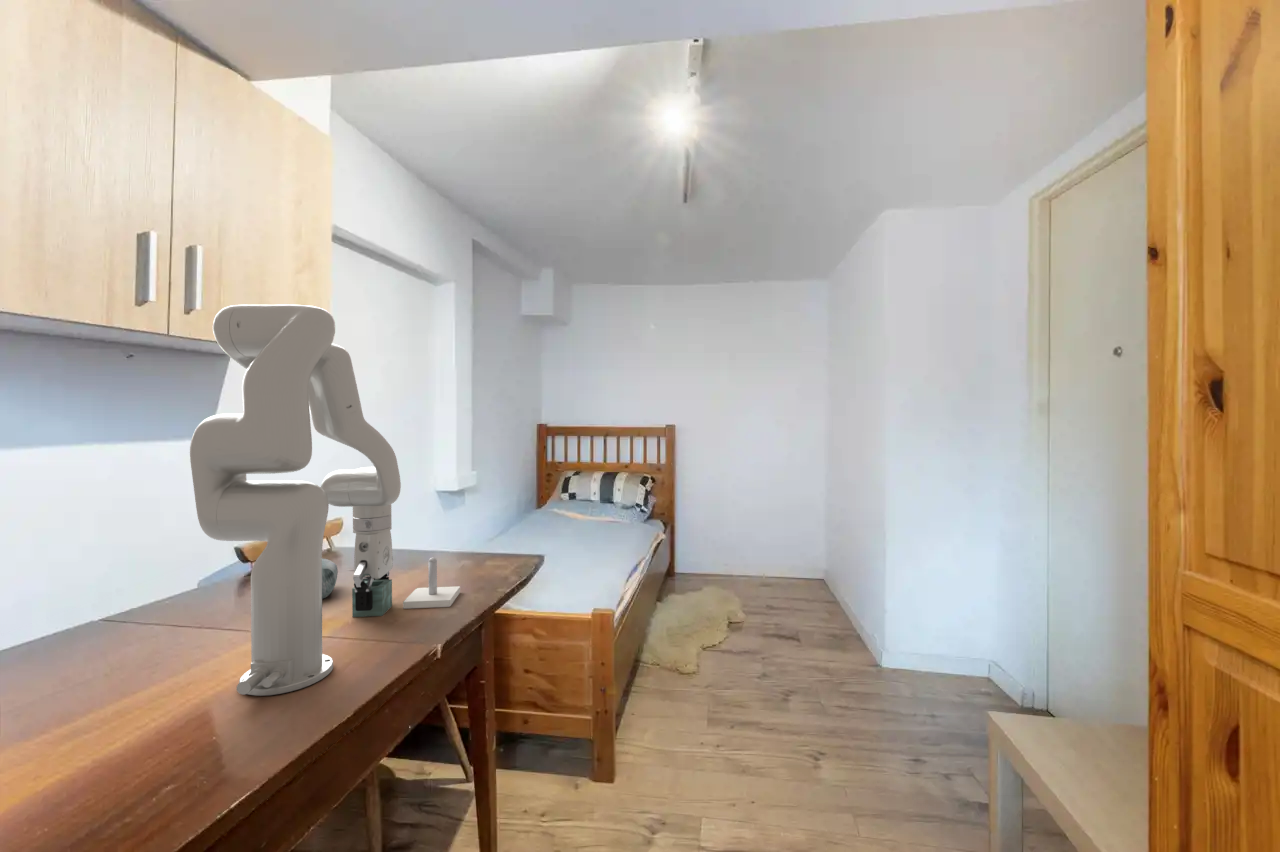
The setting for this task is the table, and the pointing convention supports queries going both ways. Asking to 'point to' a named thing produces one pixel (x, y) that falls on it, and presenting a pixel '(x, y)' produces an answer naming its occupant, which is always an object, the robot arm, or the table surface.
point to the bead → (376, 599)
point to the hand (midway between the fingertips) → (373, 602)
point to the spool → (328, 577)
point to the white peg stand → (432, 592)
